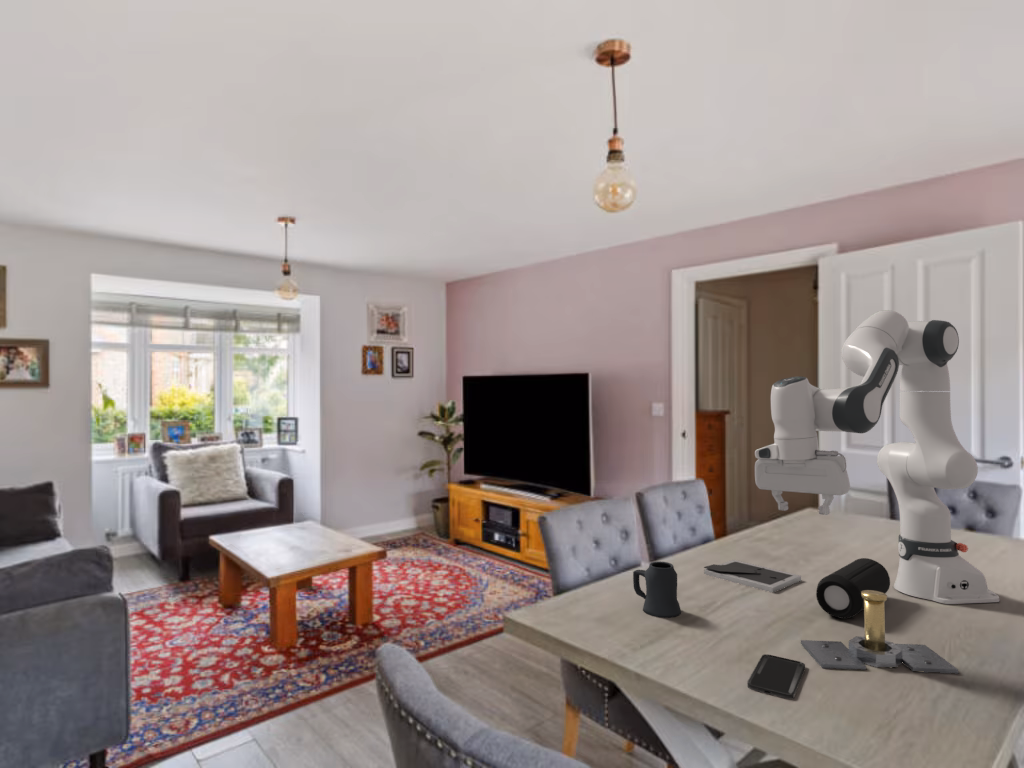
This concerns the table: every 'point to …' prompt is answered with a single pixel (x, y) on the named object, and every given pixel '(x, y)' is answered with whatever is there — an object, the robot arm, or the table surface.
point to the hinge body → (876, 656)
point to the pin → (874, 619)
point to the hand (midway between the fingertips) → (803, 512)
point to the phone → (776, 676)
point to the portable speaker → (851, 587)
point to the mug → (659, 590)
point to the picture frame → (752, 575)
